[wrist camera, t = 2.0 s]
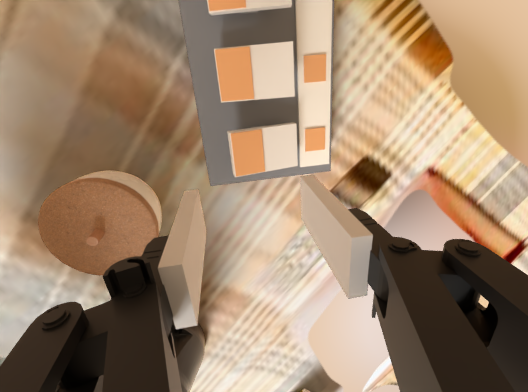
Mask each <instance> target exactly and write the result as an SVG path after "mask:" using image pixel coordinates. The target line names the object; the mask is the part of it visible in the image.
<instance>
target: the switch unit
mask: <svg viewBox="0 0 528 392" xmlns="http://www.w3.org/2000/svg"><path fill="white" fill-rule="evenodd" d="M178 1H179V7H180V12H181V18H182V24H183V30H184V36H185V41H186V47H187V53H188V59H189V65H190V70H191V76H192V82H193V88H194V94H195V99H196V105H197V111H198V117H199V123H200V128H201V134H202V140H203V146H204V151H205V157H206V163H207V169H208V175H209V180H210V186H215V185H223V184H231V183H239V182H247V181H255V180H263V179H271V178H279V177H287V176H295V175H303V174H311V173H319V172H326V171H331V126H332V79H333V33H334V0H292V6H291V7H289V8H279V9H270V10H260V11H250V12H240V13H230V14H221V15H210V14H209V10H208V3H207V0H178ZM290 41H293V56H294V88H295V97H283V98H271V99H259V100H247V101H235V102H223V103H221V98H220V91H219V83H218V76H217V69H216V61H215V54H214V49H216V48H227V47H237V46H248V45H259V44H269V43H280V42H290ZM291 122H293V123H296V126H297V159H298V166H294V167H289V168H283V169H278V170H273V171H267V172H262V173H256V174H251V175H245V176H240V177H235V176H234V175H233V171H232V163H231V156H230V148H229V141H228V133H227V131H232V130H239V129H246V128H254V127H261V126H268V125H276V124H283V123H291Z"/></svg>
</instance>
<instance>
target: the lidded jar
mask: <svg viewBox="0 0 528 392" xmlns="http://www.w3.org/2000/svg"><path fill="white" fill-rule="evenodd" d="M161 223H162V211H161V205H160V202H159V200H158V198H157V196H156V194H155V192H154V191H153V190H152V188H151V187H150V186H149V185H148V184H147V183H145V182H144V181H143V180H141V179H140V178H138V177H136V176H134V175H131V174H129V173H125V172H121V171H114V170H105V171H99V172H93V173H90V174H87V175H84V176H81V177H79V178H77V179H75V180H73V181H71V182H69V183H67V184H65V185H63V186H61V187H59V188H58V189H56V190H55V191H54V192H52V193H51V194H50V195H49V196H48V197H47V198H46V200H45V201H44V203H43V205H42V206H41V209H40V212H39V218H38V225H39V231H40V234H41V238H42V240H43V241H44V243H45V245H46V246H47V248H48V249H49V250H50V252H51V253H52V254H53V255H54V256H55V257H56V258H58V259H59V260H60V261H62V262H63V263H64V264H66V265H68V266H70V267H72V268H74V269H76V270H78V271H81V272H85V273H89V274H94V275H104V273H105V271H106V270H107V269H108V268H109V267H110V266H111V265H113V264H115V263H116V262H118V261H120V260H123V259H125V258H129V257H134V256H142V254H143V252H144V249H145V247H146V245H147V244H148V243H149V242H150V241H151V240H152V239H154V238H156V237H158V236H159V232H160V229H161Z"/></svg>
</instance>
